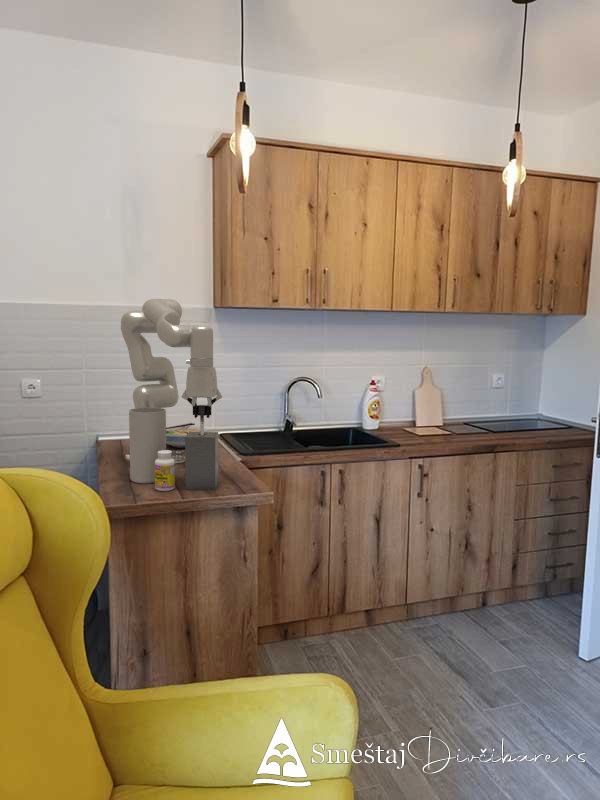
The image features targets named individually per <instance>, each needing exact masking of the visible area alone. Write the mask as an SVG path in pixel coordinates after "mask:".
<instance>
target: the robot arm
mask: <svg viewBox="0 0 600 800" xmlns="http://www.w3.org/2000/svg"><path fill="white" fill-rule="evenodd" d="M182 308H183V307H182V306H181V304H180V302H178V300H175V299H171V298H150V299H147V300H146V301H145V302H144V303H143V305H142V308H141V310H131V311H127V312H125V313H124V314H123V315H122V317H121V319H120V331H121V335H122V338H123V340H124V342H125V345H126V348H127V351H128V357H129V361H130V367H131V372H132V376H133V379H134V380H135V381H136V382H141V383H145V382H146V383H148V382H158V383H149V384H141V385H138V386H137V387H135V388H134V390H133V393H132V400H133V405H134V408H148V407H151V408H163V409H166V408H172V407H173V408H174V407H175V406H177V404H178V403H179V390H178V385H177V379H176V375H175V369H174V366H173V363H172V361H171V360H170V359H169V358H168V357H164V356H154V355H153V353H152V348H151V345H150V343H149V342H148V339H146V338H145V337H144V336H143V335H142V334H157V337H158V339H159V340H160V341H161V342H162V343H164V344H165V345H167V346H168V347H171V348H190V358H189V359H186V360H185V364H186V365H187V364H188V365H189V367H188V368H187V373H186V385H185V386H186V387H185V390H184V392H183V394H182V395H181V398H182V399H184V400H185V401H187V402H188V403H189V404H190V405H191V406H192V416H194V418H195V419H197V418H198V415H197V405H198V404H197V400H198V398H204V399H205V398H206V399H207V404H206V405H207V415H206V418H207V419H210V416H212V405H213V404H214V403H216V402H217V401H220V399H222V398H223V396H222V395H223V394H221V392H220V391H219V388H218V377H217V371H216V367H214V329H213V328H212V327H211V326H202V325H198V324H197V325H194V324H193V325H189V324H188V325H187V324H181V318H182V314H183V309H182ZM125 460H127V461H130V454H125Z"/></svg>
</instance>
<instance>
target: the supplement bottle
mask: <svg viewBox="0 0 600 800" xmlns="http://www.w3.org/2000/svg"><path fill="white" fill-rule="evenodd" d="M172 455H173V451H172V450H168V449H166V450H162V451H158V459H156V460H155V483H154V489H155V490H156V491H160V492H170V491H172V490H174V489H175V487H176V460H175V459H174V458H172Z"/></svg>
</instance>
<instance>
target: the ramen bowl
mask: <svg viewBox="0 0 600 800" xmlns="http://www.w3.org/2000/svg"><path fill="white" fill-rule="evenodd" d="M195 425H196V423H194V422H189V423H184V424H179V425H173V426H166V445H170V446H172V447H173V448H177V449H179V448H180V449H182V448H183V449H184V448H185V437H186V435H187V434H188V433H189V432H200V426H195ZM204 432H208V430H207V428H205V427H204Z"/></svg>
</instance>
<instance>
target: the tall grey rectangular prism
mask: <svg viewBox="0 0 600 800" xmlns="http://www.w3.org/2000/svg"><path fill="white" fill-rule="evenodd" d="M184 455H185V458H184V459H185V461H184V462H185V463H184V464H185V465H184V466H185V469H184V471H185V477H184V478H185V480H184V481H185V482H184V483H185V490H186V491H193V490H194V491H195V490H196V491H197V490H198V491H215V490H217V487H218V484H219V431H207V432H204V435H200V432H189V433H188V434H187V435H186V437H185V451H184Z"/></svg>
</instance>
